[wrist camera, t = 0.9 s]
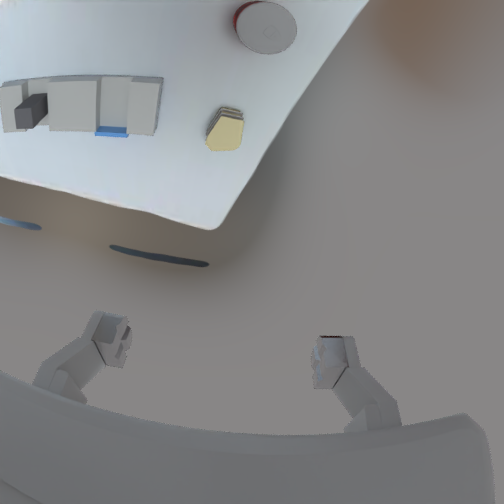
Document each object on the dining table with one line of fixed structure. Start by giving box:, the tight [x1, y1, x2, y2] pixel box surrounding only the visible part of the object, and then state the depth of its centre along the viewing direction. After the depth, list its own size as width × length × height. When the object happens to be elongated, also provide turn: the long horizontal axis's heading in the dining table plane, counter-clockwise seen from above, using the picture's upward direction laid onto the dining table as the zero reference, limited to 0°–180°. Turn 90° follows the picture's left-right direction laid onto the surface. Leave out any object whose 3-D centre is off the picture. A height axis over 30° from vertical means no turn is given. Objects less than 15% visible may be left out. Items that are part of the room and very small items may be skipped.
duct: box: [0, 75, 163, 138], centre depth 41 cm, size 11×34×4 cm, turn 75°
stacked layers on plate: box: [205, 107, 244, 151], centre depth 49 cm, size 10×9×6 cm
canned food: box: [233, 1, 297, 54], centre depth 33 cm, size 8×8×11 cm
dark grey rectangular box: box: [14, 93, 48, 129], centre depth 37 cm, size 4×4×7 cm
